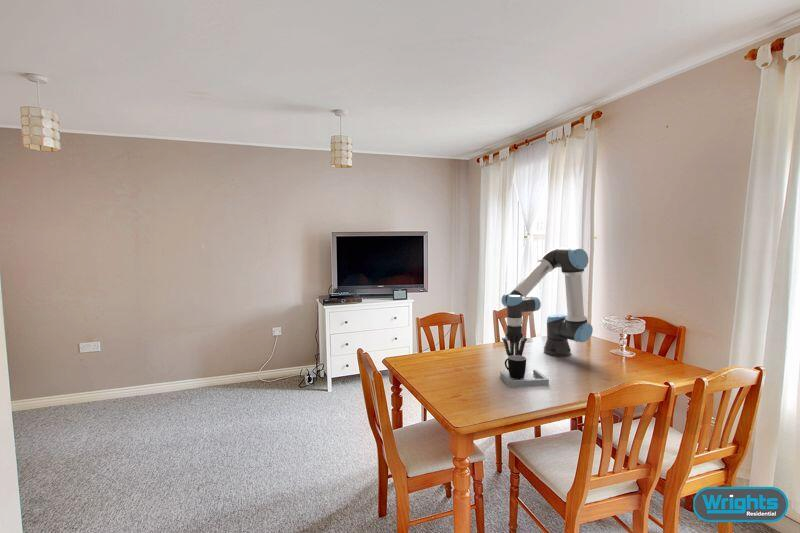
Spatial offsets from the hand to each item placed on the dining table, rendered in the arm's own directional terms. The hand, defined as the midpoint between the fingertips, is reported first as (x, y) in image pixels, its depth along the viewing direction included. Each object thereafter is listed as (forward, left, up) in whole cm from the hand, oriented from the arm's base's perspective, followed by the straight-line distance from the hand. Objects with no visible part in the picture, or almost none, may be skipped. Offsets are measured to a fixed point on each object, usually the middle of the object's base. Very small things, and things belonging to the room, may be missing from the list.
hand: (514, 369), depth 199 cm
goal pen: (+12, 0, -2) cm, 12 cm away
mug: (+5, -2, -2) cm, 6 cm away
